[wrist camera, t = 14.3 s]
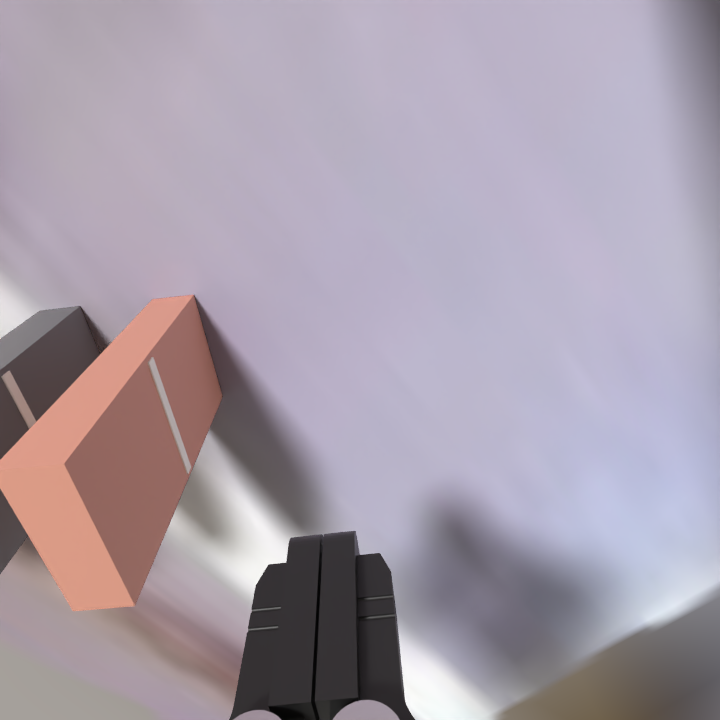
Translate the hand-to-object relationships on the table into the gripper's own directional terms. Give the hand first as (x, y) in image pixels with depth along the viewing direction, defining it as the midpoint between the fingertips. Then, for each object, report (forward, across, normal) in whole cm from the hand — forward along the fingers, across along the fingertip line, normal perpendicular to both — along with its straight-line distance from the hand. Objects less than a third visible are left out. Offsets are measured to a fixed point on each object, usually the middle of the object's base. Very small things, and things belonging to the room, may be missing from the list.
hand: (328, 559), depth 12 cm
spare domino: (+12, +7, 0) cm, 14 cm away
